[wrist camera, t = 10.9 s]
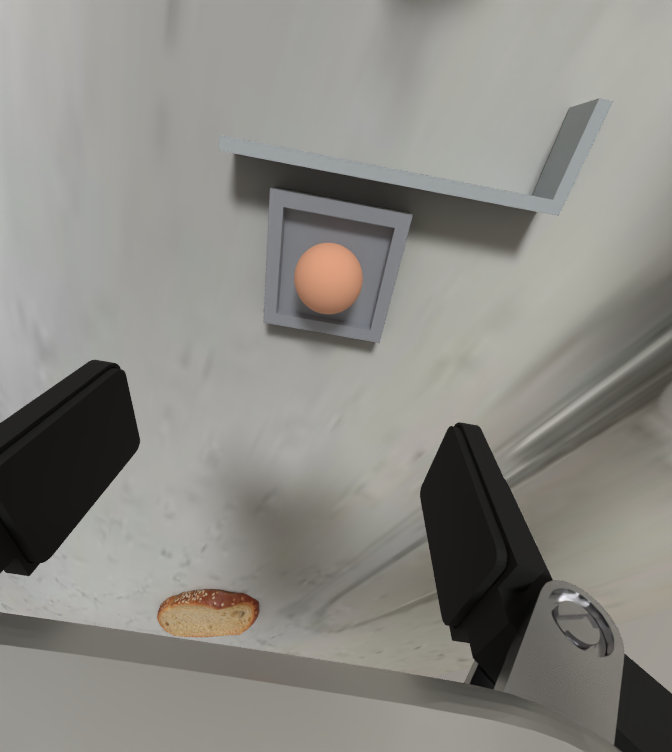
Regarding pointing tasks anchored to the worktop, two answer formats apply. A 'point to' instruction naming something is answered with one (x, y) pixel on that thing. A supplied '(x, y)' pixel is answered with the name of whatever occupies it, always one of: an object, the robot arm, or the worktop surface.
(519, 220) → the worktop surface
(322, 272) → the ball
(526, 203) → the wall
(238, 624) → the bread slice
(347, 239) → the dish
